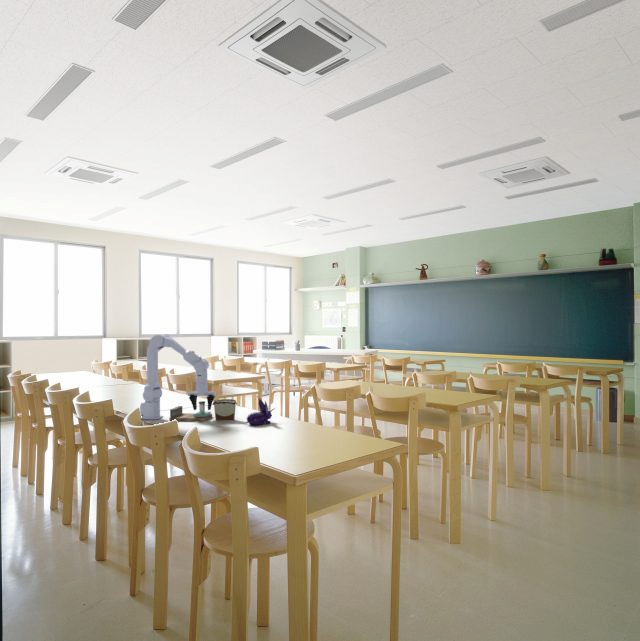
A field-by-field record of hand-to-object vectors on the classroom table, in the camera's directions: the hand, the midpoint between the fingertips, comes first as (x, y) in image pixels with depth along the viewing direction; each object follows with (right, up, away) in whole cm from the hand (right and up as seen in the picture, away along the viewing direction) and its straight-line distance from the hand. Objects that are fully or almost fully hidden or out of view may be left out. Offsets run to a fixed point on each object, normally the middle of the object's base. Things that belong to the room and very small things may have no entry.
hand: (202, 409), depth 249 cm
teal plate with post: (0, -3, 0) cm, 3 cm away
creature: (+32, -5, -13) cm, 34 cm away
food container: (+13, -5, -2) cm, 14 cm away
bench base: (-6, -5, +1) cm, 8 cm away
